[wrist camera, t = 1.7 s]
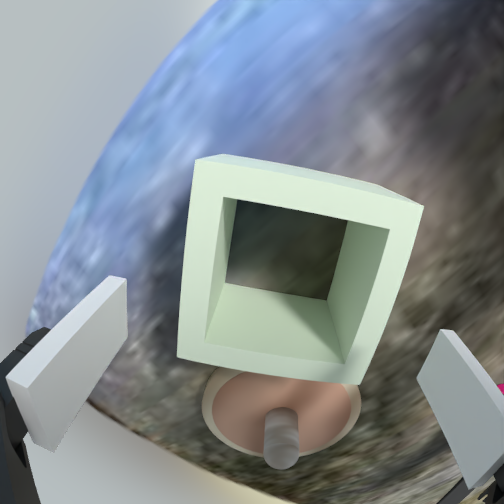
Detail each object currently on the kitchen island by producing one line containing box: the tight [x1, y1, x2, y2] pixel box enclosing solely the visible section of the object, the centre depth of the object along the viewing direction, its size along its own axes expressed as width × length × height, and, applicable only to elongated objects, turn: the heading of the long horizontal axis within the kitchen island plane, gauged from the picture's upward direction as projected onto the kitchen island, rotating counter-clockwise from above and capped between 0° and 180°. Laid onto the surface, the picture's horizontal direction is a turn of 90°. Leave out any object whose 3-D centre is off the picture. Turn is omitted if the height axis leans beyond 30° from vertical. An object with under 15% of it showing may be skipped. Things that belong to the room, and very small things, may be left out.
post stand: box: [202, 366, 361, 469], centre depth 25 cm, size 15×15×8 cm
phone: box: [437, 478, 475, 504], centre depth 36 cm, size 7×1×15 cm
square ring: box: [177, 154, 424, 385], centre depth 20 cm, size 11×11×8 cm
